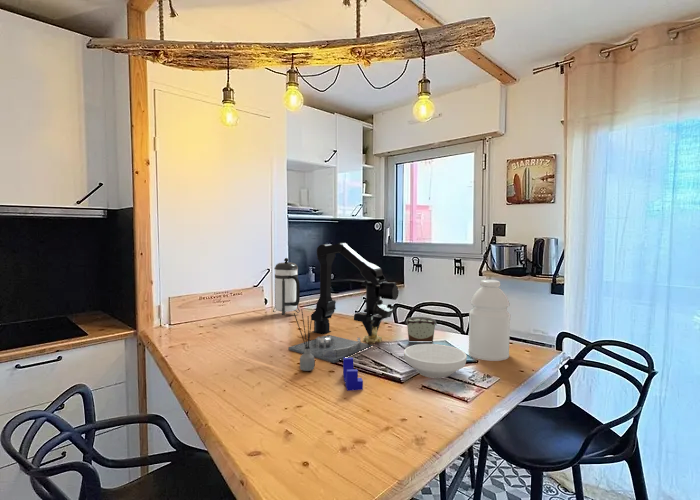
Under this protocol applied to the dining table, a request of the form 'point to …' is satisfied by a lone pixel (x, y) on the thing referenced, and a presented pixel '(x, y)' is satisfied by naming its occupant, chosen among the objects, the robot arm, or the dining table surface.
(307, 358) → the reed diffuser
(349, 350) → the carrier plate
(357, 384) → the blue u-shaped block
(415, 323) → the food container
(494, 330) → the bottle
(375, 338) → the gear
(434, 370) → the bowl
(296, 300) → the coffee press
